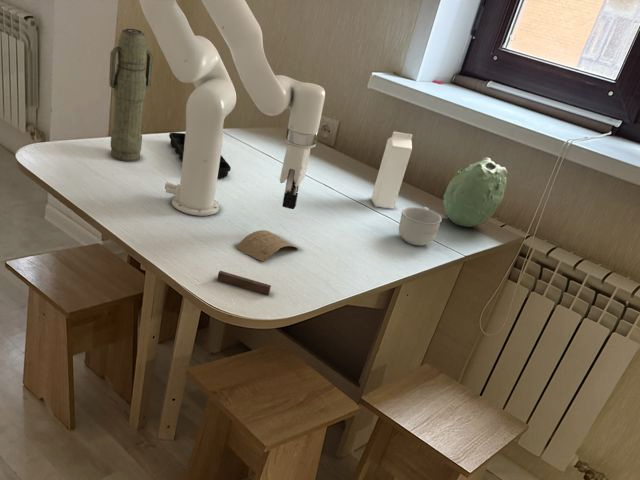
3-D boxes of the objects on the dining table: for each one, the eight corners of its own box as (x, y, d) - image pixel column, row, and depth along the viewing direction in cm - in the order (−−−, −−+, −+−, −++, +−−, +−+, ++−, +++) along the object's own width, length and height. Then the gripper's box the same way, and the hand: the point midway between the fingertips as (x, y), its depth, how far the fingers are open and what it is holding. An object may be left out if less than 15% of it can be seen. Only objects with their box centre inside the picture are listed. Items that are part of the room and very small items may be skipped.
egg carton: (200, 142, 225) (201, 131, 223) (246, 178, 205) (248, 166, 203) (151, 144, 216) (152, 132, 214) (194, 181, 196) (196, 169, 194)
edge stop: (217, 280, 151) (218, 272, 150) (218, 278, 152) (220, 270, 151) (268, 295, 150) (269, 287, 149) (269, 293, 151) (271, 285, 150)
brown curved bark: (264, 264, 162) (266, 253, 160) (234, 246, 167) (235, 236, 165) (301, 250, 172) (303, 240, 170) (272, 234, 176) (273, 224, 175)
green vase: (424, 218, 204) (446, 154, 193) (458, 209, 216) (480, 148, 205) (467, 241, 196) (493, 175, 184) (500, 230, 208) (526, 167, 196)
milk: (393, 209, 206) (416, 138, 194) (374, 206, 205) (396, 134, 193) (389, 201, 211) (410, 131, 199) (370, 198, 210) (390, 128, 198)
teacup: (424, 253, 183) (433, 226, 179) (388, 238, 187) (396, 212, 183) (441, 239, 194) (450, 213, 189) (406, 225, 197) (415, 199, 193)
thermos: (150, 160, 204) (161, 35, 184) (115, 163, 197) (122, 34, 178) (135, 149, 209) (144, 27, 190) (100, 152, 202) (106, 25, 183)
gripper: (293, 126, 173) (281, 194, 183) (279, 141, 161) (267, 213, 171) (322, 132, 172) (308, 201, 182) (310, 148, 159) (296, 220, 170)
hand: (288, 206), depth 176 cm, fingers closed
